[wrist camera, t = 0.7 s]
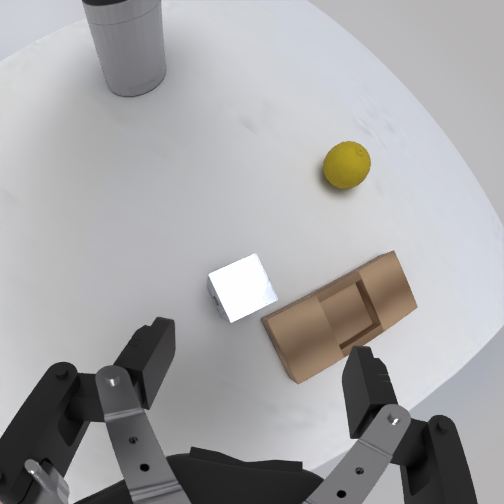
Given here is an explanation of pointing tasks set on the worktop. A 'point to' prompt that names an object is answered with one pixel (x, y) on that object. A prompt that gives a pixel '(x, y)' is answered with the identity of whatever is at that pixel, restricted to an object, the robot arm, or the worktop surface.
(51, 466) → the robot arm
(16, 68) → the worktop surface
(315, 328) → the wooden slotted base
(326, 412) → the worktop surface
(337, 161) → the lemon
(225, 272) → the block
